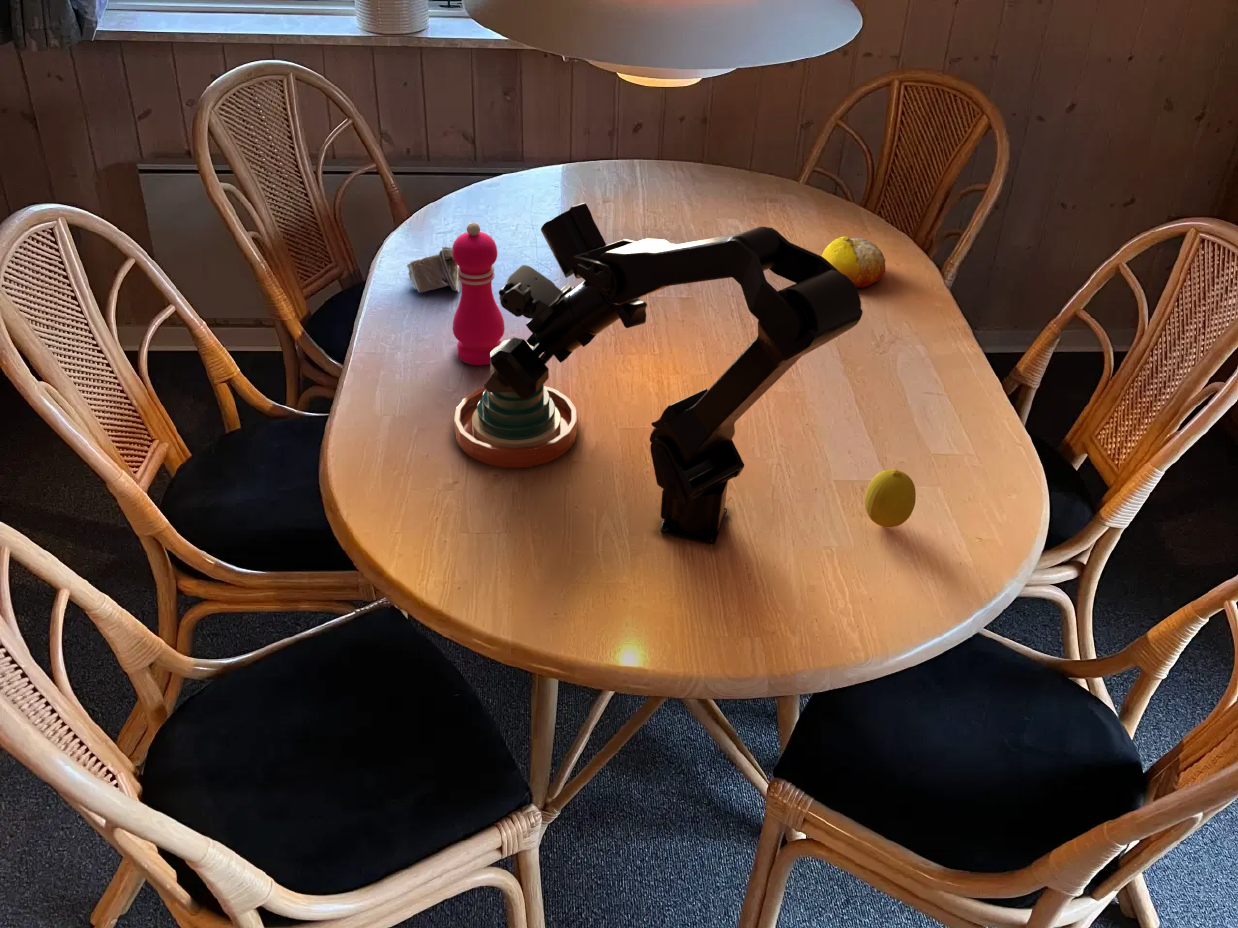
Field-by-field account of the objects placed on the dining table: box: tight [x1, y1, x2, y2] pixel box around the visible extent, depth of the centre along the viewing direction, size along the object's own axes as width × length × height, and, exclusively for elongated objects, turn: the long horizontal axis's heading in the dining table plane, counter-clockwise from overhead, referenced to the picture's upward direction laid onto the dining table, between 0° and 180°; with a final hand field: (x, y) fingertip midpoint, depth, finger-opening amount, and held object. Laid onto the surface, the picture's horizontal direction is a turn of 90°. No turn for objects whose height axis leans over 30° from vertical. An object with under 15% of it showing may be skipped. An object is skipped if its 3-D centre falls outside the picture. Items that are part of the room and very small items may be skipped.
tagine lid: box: [472, 338, 561, 448], centre depth 130 cm, size 11×11×13 cm
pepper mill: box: [451, 221, 506, 366], centre depth 144 cm, size 7×7×20 cm
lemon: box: [864, 468, 917, 528], centre depth 120 cm, size 6×6×8 cm
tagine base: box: [453, 385, 578, 468], centre depth 134 cm, size 15×16×3 cm
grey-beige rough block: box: [406, 246, 461, 294], centre depth 165 cm, size 10×7×12 cm
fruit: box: [821, 235, 886, 289], centre depth 172 cm, size 11×10×8 cm
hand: (504, 370), depth 130 cm, fingers open, 9 cm apart
